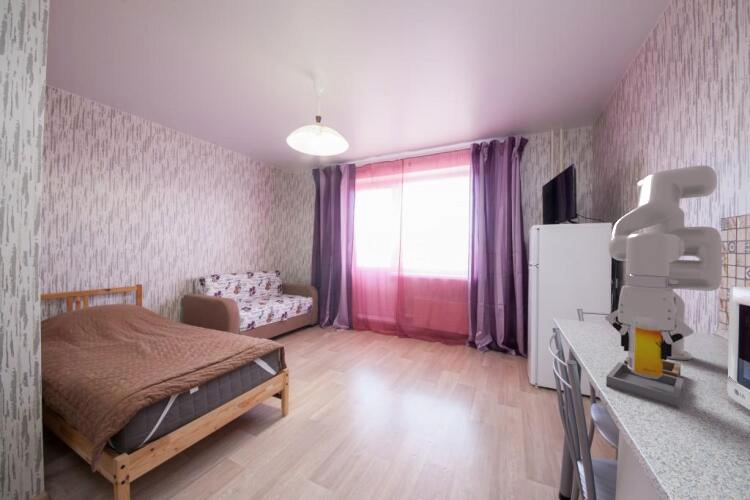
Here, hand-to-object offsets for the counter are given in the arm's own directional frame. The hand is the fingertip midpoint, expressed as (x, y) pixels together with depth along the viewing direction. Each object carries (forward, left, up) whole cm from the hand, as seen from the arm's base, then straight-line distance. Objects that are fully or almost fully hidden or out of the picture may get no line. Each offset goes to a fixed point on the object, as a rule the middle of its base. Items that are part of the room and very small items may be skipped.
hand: (645, 353), depth 66 cm
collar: (-13, 0, -9) cm, 16 cm away
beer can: (0, 0, -5) cm, 5 cm away
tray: (0, 0, -8) cm, 8 cm away
